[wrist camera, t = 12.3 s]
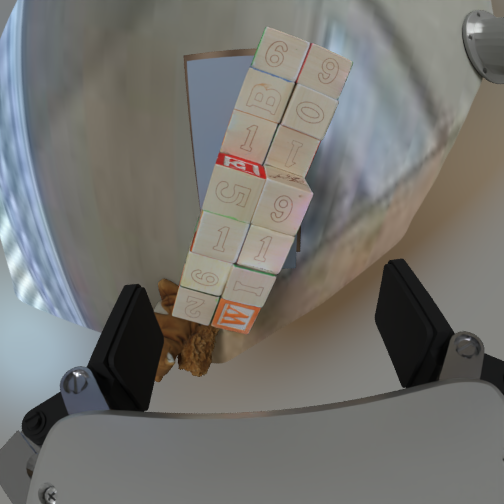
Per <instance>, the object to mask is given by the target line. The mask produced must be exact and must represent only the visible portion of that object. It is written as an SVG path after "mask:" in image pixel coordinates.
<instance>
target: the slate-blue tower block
mask: <svg viewBox="0 0 504 504" xmlns="http://www.w3.org/2000/svg"><path fill="white" fill-rule="evenodd" d="M253 58H254V56H234V57H220V58H209V59H200V60H192V61H187V73H188V87H189V101H190V113H191V125H192V136H193V146H194V156H195V166H196V175H197V184H198V193H199V201H200V210H201V209H202V205H203V202H204V199H205V196H206V192H207V189H208V186H209V182H210V179H211V176H212V172H213V169H214V166H215V163H216V159H217V156H218V153H219V152H220V149H221V145H222V142H223V139H224V136H225V133H226V130H227V127H228V124H229V121H230V118H231V115H232V112H233V110H234V107H235V104H236V101H237V99H238V96H239V93H240V90H241V88H242V85H243V82H244V80H245V77H246V74H247V72H248V69H249V67H250V66H251V63H252V60H253ZM296 247H297V234H296V235H295V239H294V242H293V244H292V247H291V249H290V251H289V253H288V256H287V258H286V260H285V262H284V265H283V267H282V269H285V268H296Z"/></svg>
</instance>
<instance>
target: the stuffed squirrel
mask: <svg viewBox="0 0 504 504" xmlns="http://www.w3.org/2000/svg"><path fill="white" fill-rule="evenodd" d="M158 287H159V292H160V295H161V299H162V300H161V301H160V302H159V303H158V304H157V305H156V307H155V309H154V310H153V311H154V313H155V316H156V318H157V321H158V323H159V326H160V328H161V331H162V333H163V336H164V345H163V349H162V353H161V357H160V361H159V365H158V369H157V373H156V377H155V381H156V382H160V381H161V380H162V378H163V376H164V375H165V374H167V373H168V372H169V370H170V369H171V368H172V367H173V365H174V364H175V359H176V357H177V355H178V357H177V358H178V364H179V369H180V370H181V369H185V370H187V371H190V372H191V373H192V375H193V376H198V377H200V376H202V375H204V374H206V373H207V371H208V368H209V367H210V364H211V363H212V359H211V358H212V356H211V353H212V352H211V351H213V349H214V347H215V346H214V342H215V343H216V341H215V337H214V336H216V335H218V334H217V333H218V331H219V329H218V328H216V327H214V326H211V324H209V325H203V324H200V323H197V322H193V321H189V320H186V319H182V318H178V317H174V316H172V311H173V307H174V303H175V300H176V296H177V292H178V288H179V286H178V285H176V284H174V283H173V282H171V281H169V280H167V279H162V280H161V281H159V283H158Z"/></svg>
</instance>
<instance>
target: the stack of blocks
mask: <svg viewBox="0 0 504 504" xmlns="http://www.w3.org/2000/svg"><path fill="white" fill-rule="evenodd" d="M352 65H353V62H352V61H350V60H348V59H346V58H344V57H342V56H340V55H338V54H336V53H334V52H331V51H329V50H327V49H325V48H323V47H321V46H318V45H316V44H313V43H309V42H307V41H305V40H302V39H300V38H297V37H295V36H292V35H289V34H286V33H284V32H281V31H278V30H275V29H273V28H269V27H266V28H265V30H264V32H263V35H262V37H261V40H260V42H259V45H258V48H257V50H256V52H255V55H254V58H253V60H252V63H251V66H250V67H249V69H248V72H247V74H246V77H245V80H244V82H243V85H242V88H241V90H240V93H239V96H238V99H237V101H236V104H235V107H234V110H233V112H232V115H231V118H230V121H229V124H228V127H227V130H226V133H225V136H224V139H223V142H222V145H221V149H220V152H219V153H218V156H217V159H216V163H215V166H214V169H213V172H212V176H211V179H210V182H209V186H208V189H207V192H206V196H205V199H204V202H203V205H202V209H201V212H200V215H199V217H198V220H197V223H196V226H195V230H194V233H193V236H192V240H191V243H190V247H189V250H188V254H187V257H186V261H185V264H184V268H183V272H182V276H181V280H180V284H179V288H178V292H177V296H176V300H175V303H174V307H173V311H172V316H174V317H178V318H182V319H186V320H189V321H193V322H197V323H200V324H203V325H209V324H211V326H214V327H216V328H221V329H225V330H230V331H234V332H239V333H244V334H249V332H250V330H251V328H252V326H253V324H254V322H255V320H256V318H257V316H258V314H259V312H260V309H261V307H263V306H264V304H265V302H266V300H267V297H268V295H269V293H270V291H271V289H272V287H273V284H274V282H275V280H276V275H277V274H278V273H279V272H280V271H281V269H282V267H283V265H284V262H285V260H286V258H287V256H288V253H289V251H290V249H291V247H292V244H293V242H294V239H295V235H296V234H297V232H298V230H299V227H300V225H301V223H302V220H303V218H304V216H305V214H306V211H307V209H308V207H309V204H310V202H311V199H312V197H313V192H312V191H311V189H310V187H309V185H308V184H307V182H306V180H305V177H306V175H307V173H308V170H309V168H310V166H311V163H312V161H313V159H314V156H315V154H316V152H317V149H318V147H319V145H320V142H321V141H322V140H323V138H324V136H325V134H326V132H327V129H328V127H329V125H330V122H331V120H332V118H333V115H334V113H335V110H336V108H337V105H338V103H339V101H338V98H339V96H340V94H341V92H342V89H343V87H344V84H345V82H346V80H347V77H348V75H349V72H350V70H351V67H352Z"/></svg>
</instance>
